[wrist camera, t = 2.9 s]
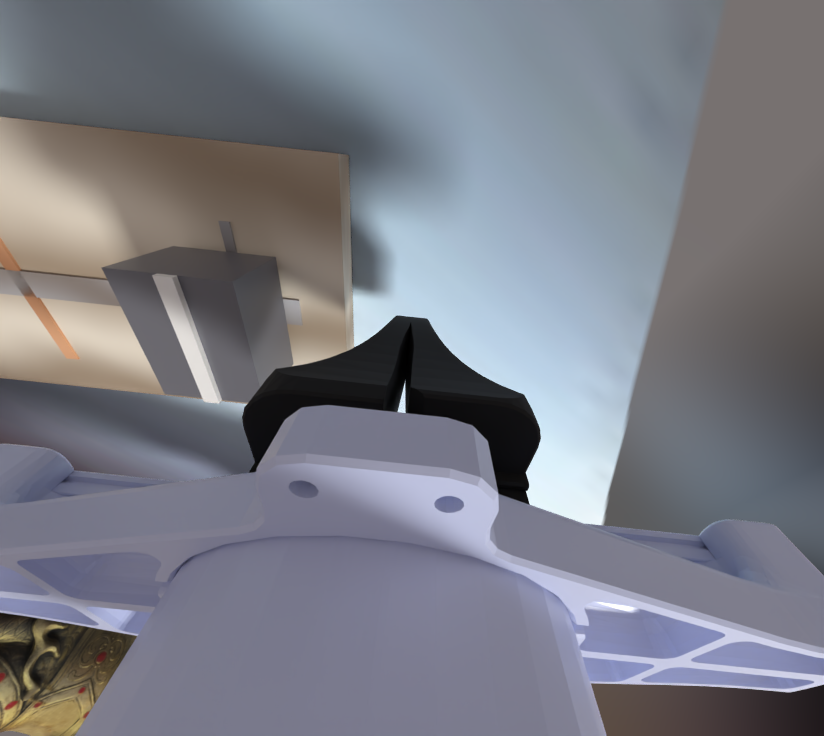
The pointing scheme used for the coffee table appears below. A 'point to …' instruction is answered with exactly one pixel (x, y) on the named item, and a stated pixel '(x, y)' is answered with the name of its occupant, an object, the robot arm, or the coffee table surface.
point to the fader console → (156, 240)
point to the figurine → (53, 673)
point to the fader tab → (205, 319)
